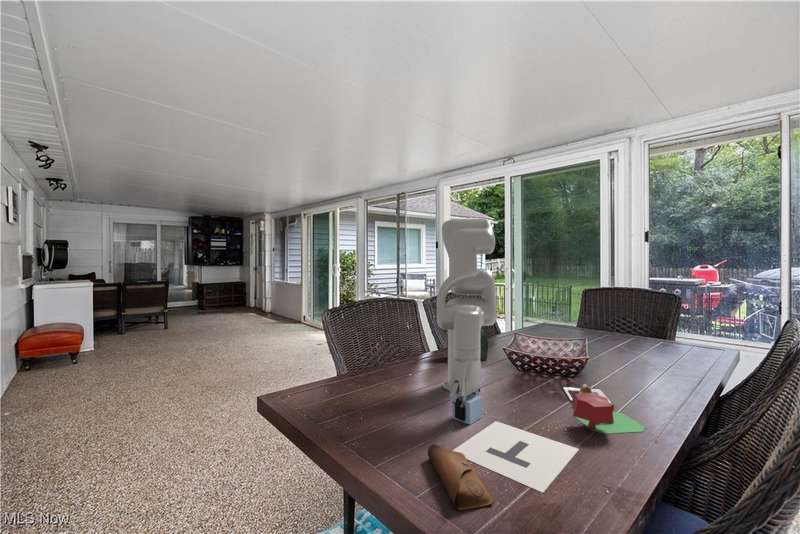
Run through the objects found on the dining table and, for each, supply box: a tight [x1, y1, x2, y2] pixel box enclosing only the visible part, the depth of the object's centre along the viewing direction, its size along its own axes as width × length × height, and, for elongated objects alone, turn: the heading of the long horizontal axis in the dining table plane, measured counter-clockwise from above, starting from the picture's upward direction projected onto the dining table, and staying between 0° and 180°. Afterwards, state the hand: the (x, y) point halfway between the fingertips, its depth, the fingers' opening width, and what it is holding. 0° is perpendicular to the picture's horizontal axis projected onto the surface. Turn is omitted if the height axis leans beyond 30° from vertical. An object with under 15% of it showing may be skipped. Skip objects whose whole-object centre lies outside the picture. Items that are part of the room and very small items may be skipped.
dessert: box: [562, 383, 613, 405], centre depth 121 cm, size 12×12×5 cm
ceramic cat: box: [442, 326, 489, 362], centre depth 166 cm, size 20×6×20 cm, turn 80°
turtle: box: [572, 392, 646, 435], centre depth 101 cm, size 15×20×9 cm
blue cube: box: [451, 393, 482, 426], centre depth 105 cm, size 6×6×6 cm
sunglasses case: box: [427, 443, 494, 511], centre depth 76 cm, size 18×7×7 cm
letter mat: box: [452, 420, 580, 494], centre depth 87 cm, size 22×22×1 cm
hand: (466, 414), depth 105 cm, fingers closed on blue cube, 6 cm apart
